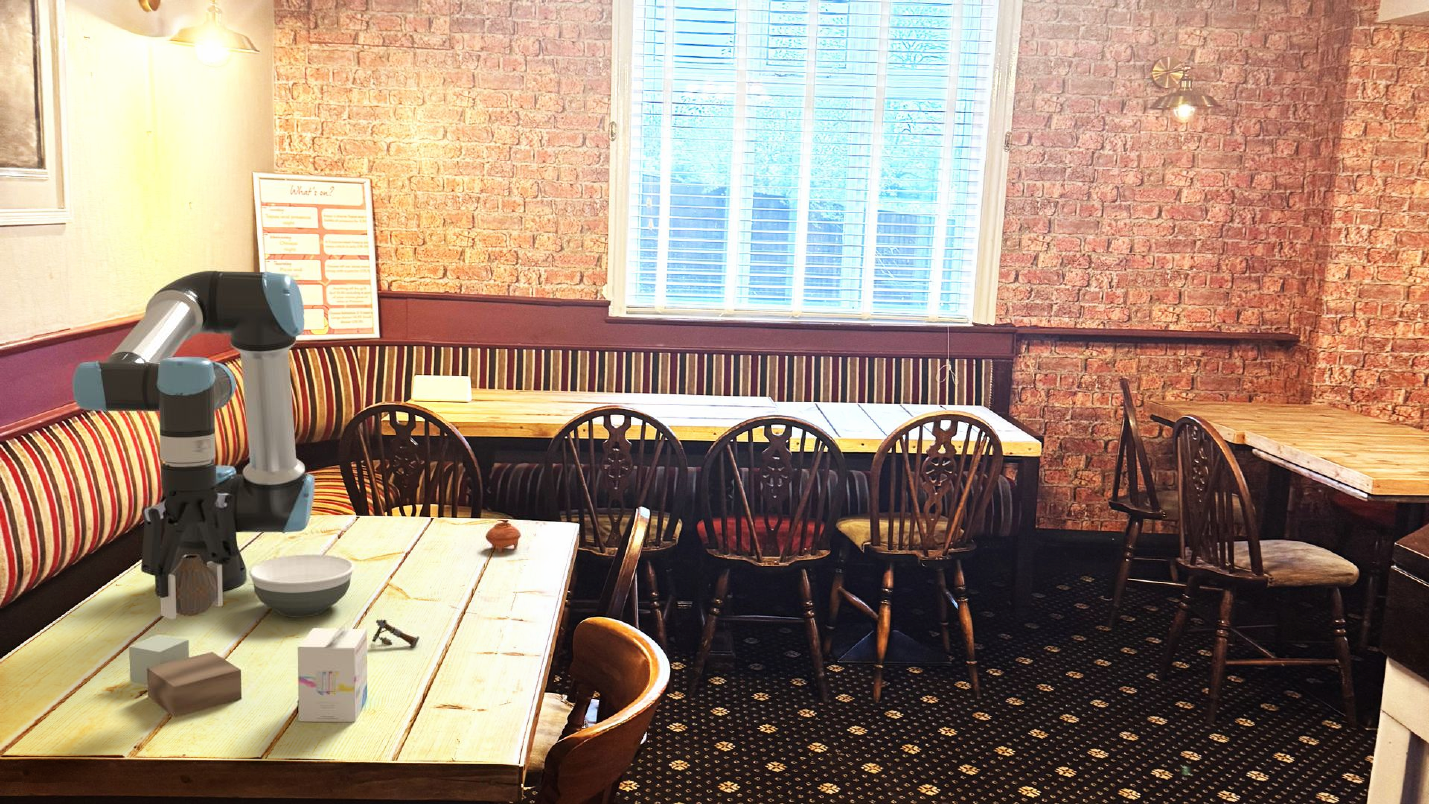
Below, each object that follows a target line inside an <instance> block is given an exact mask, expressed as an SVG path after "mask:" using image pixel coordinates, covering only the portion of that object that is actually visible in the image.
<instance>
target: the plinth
mask: <svg viewBox="0 0 1429 804" xmlns="http://www.w3.org/2000/svg"><path fill="white" fill-rule="evenodd" d="M242 693H243V692H242V669H241V668H239V667H238V666H236V665H234V664H233V663H231V662H229V661H227V659H224V658H223V657H221V656H219V655H218V654H217V653H215V652H213V651H211V652H206V653H202V654H197V655H194V656H189V658H185V659H181V660H176V661H172V662H168V663H164V664H160V665H155V666H151V667H147V698H148V699H149V700H151V701H153V702H154V703H155V704H156V705H158V706H159V707H161V709H163V710H165V712H167V713H169V715H171V716H172V717H173V718H178V717H181V716H185V715H189V714H192V713H196V712H199V711H203V710H207V709H211V708H215V707H218V706H221V705H225V704H229V703H232V702H237V701H240V700H242V697H243V696H242Z"/></svg>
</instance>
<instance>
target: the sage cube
mask: <svg viewBox="0 0 1429 804" xmlns="http://www.w3.org/2000/svg"><path fill="white" fill-rule="evenodd" d="M189 644H190V642H189V639H186V638H182V637H181V638H179V637H176V636H169V635H166V634H165V635H164V634H156V635H154V636H151V637H149V638H146V639H144V640H141V641H139V642H136V643H133V644H132V645H129V646H128V656H129V657H128V658H129V683H131V684H137V685H142V686H147V667H151V666H155V665H160V664H164V663H168V662H172V661H176V660H181V659H185V658H189V657H190V648H189V647H190V646H189Z"/></svg>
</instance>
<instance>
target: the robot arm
mask: <svg viewBox="0 0 1429 804" xmlns="http://www.w3.org/2000/svg"><path fill="white" fill-rule="evenodd" d="M304 315H305V309H304V302H303V297H302V294H301V289H300V287H299V285H298V283H297V281H296V279H295V278H294V277H292V276H291V275H290V274H286V273H276V272H272V271H271V272H270V271H263V272H262V271H220V270H204V271H198V272H195V273H190V274H188V275H184V276H182V277H181V278H177V279H175V280H173V281H171V282H169V283H168V284H166V285H165V286H163V287H162V288H160V289H159V290H158V291H157V292H156V293H154V294H153V296H151V298H150V299H149V300H148V302H147V304H146V307H145V314H144V316H143V317H142V318H141V319H140V321H139V322H138V323H137V324H136V325H135V326H134V327H133V329H131V331H130V332H129V333H128V334H127V336H126V337H125V338H124V339H123V340H122V342H121V343H120V344H119V345H118V346H117V347H116V348H115V349H114V351H113V352H112V353H111V354H110V355H109V357H108V358H106V360H104V361H98V360H95V361H88V362H87V361H85V362H81V363H79V364H78V366H77V367H76V368H75V370H74V373H73V378H72V394H73V398H74V402H75V403H76V404H77V406H78V408H80V409H82V410H85V411H101V412H103V413H106V412H157V413H158V416H159V419H158V420H159V459H160V460H161V461H162V462H163V463H162V465H160V486H161V491H162V496H161V498H160V501H159V502H158V503H157V504H155V505H152V506H148V505H147V506H143V507H142V508H141V514H142V515H141V516H142V519H143V521H144V525H143V526H144V527H143V540H142V552H141V564H140V566H141V567H140V570H141V572H142V573H145V574H148V575H151V576H154V586H155V587H154V588H155V589H154V591H155V595H156V597H159V598H160V615H161V616H162V617H164V618H167V619H170V620H174V619H177V613H176V588H175V575H172V574H171V573H172V572H173V570H174V569H175V568H176V567H177V565H178V564H179V563H180V561H181V559H182V557H183V556H184V555H188V554H197V555H199V556H200V558H201V560H202V561H203V562H204V563H205V564H206V566H207V567H208V568H209V569H210V570H211V571H212V573H213V575H214V577H215V580H216V597H215V600H214V602H213V604H212V606H215V607H218V608H220V607H222V606H223V605H224V602H223V601H224V599H223V591H226V590H231V589H234V588H237V587H239V586H241V585H243V584H245V583H246V581H247V579H248V578H247V577H248V576H247V575H248V574H247V566H246V564H245V562H244V560H243V556H242V553H241V551H240V548H239V546H238V542H237V539H238V538H237V533H282V534H286V533H293V532H294V533H297V532H301V531H304V530H305V529H306V528H307V526H308V525H309V522H310V519H311V514H312V509H313V504H314V498H315V486H316V485H315V484H316V480H315V476H314V475H313V474H310V473H306V466H305V464H304V463H303V462H302V461H301V460H299V459H298V458H297V455H296V453H297V452H296V440H295V439H296V438H295V437H296V435H295V426H294V425H295V423H294V422H295V421H294V411H293V409H294V408H293V396H292V382H291V369H290V355H289V354H290V353H289V351H290V350H291V348H293V346H295V344H296V343H297V337H298V336H300V335H302V334H303V332H304V330H305V316H304ZM198 334H219V335H223V334H224V335H229V338H230V339H229V340H230V346H231V347H232V348H233V349H235V351H238V352H239V354H240V363H241V376H242V377H241V378H242V389H243V398H244V407H245V408H244V409H245V418H246V419H245V420H246V430H247V442H248V454H249V463H248V464H247V465H246V466H245V467H244V468H243V470H242V474H240V473H239V474H237V470H236V468H235V467H234V466H233V465H217V464H216V463H215V461H213V460H214V459H215V458H216V420H215V419H216V418H215V417H216V411H217V410H220V409H221V408H224V407H225V406H227V404H228V403H229V402H230V400H231V399H232V398H233V397H234V394H235V392H236V389H237V388H236V386H237V384H236V378H235V375H234V374H233V372H232V371H231V370H230V368H229V367H227V366H226V365H224V364H223V363H220V362H218V361H212V360H211V359H209V358H208V357H207V358H206V357H203V356H202V357H201V356H177V357H173V356H174V355H175V354H176V353H177V351H178V350H179V349H180V347H181V346H182V345H183V344H184V342H185V341H187V340H190V339H192V338H193V337H195V336H196V335H198ZM164 512H165V514H166V520H165V522H164V533H163V536H162V525H163V524H162V519H164V515H163V514H164Z"/></svg>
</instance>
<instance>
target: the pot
mask: <svg viewBox="0 0 1429 804" xmlns="http://www.w3.org/2000/svg"><path fill="white" fill-rule="evenodd" d="M521 537H522V535H521V532H520V530H519V529H518V528H517V527H515V526H514V525H512V524H511V523H510V522H506V521H505V522H504V521H503V522H499V523H498V522H497V523H495V524H494V525H493V527H492V528H490V529H489V530H488V531H487V533H486V534H485V539H486V541H487V542H488V543H489V544H491V547H493V548H494V549H495V548H497V550H498V552H499V553H500V554H501V553H502V550H503V548H509V547H511V546H513V549H515V550H516V549H517V548H518V546H519V539H520V538H521Z"/></svg>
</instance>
